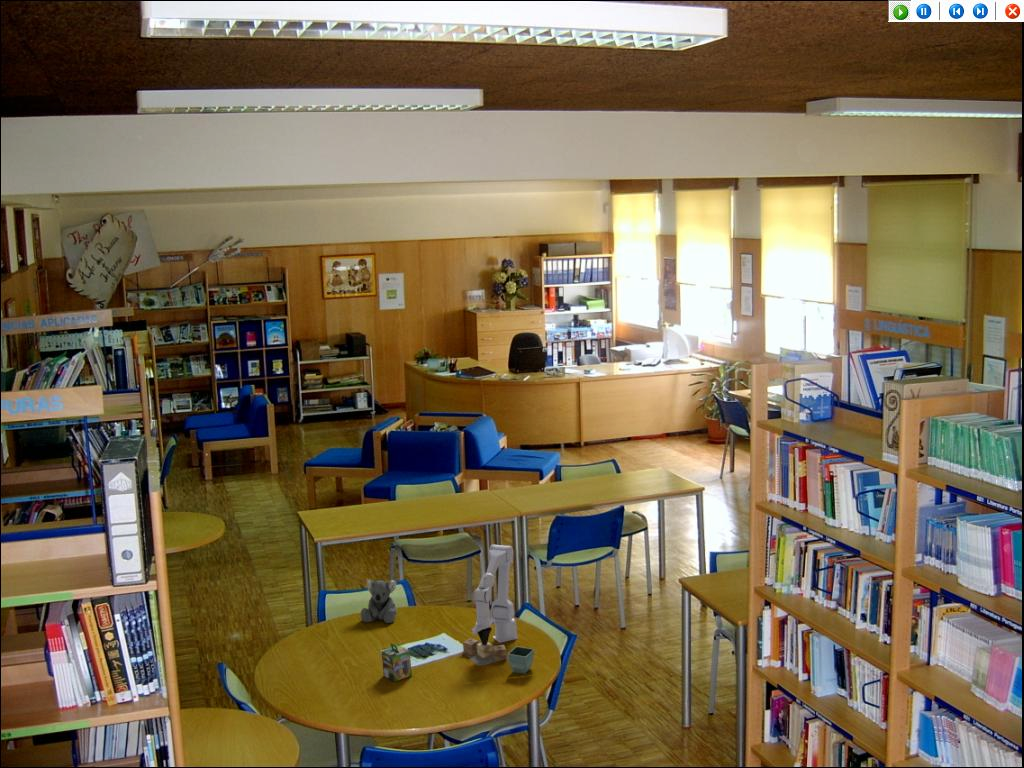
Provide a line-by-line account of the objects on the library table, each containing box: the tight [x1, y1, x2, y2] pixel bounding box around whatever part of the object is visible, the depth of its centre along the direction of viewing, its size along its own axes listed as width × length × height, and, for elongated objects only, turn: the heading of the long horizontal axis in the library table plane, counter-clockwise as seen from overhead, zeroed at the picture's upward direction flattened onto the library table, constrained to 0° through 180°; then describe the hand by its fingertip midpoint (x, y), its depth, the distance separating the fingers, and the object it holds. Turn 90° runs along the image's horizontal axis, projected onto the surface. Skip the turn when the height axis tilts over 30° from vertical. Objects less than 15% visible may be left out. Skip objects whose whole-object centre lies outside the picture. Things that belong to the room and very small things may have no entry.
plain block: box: [477, 641, 493, 658], centre depth 482 cm, size 5×5×5 cm
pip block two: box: [462, 638, 480, 655], centre depth 486 cm, size 5×5×5 cm
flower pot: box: [507, 646, 535, 674], centre depth 464 cm, size 9×9×9 cm
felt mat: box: [462, 644, 509, 667], centre depth 482 cm, size 15×18×1 cm
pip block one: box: [493, 644, 507, 662], centre depth 477 cm, size 5×5×5 cm
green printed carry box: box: [381, 642, 413, 683], centre depth 464 cm, size 9×9×15 cm
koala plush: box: [360, 578, 397, 624], centre depth 532 cm, size 17×18×20 cm
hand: (484, 644), depth 481 cm, fingers closed
